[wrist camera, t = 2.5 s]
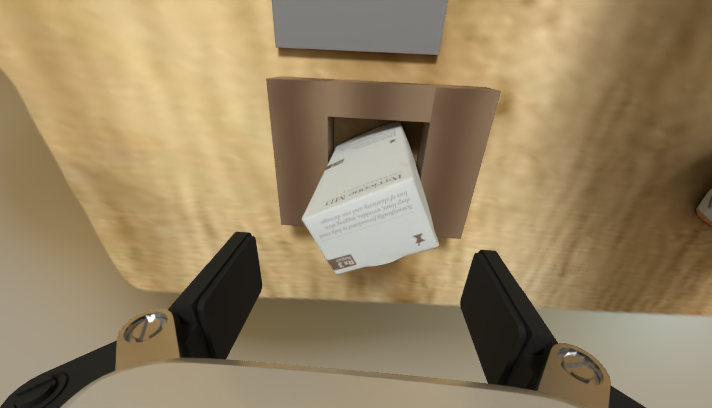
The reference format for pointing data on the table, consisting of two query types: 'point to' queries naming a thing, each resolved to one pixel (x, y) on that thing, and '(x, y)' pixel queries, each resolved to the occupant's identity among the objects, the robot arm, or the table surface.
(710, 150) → the table surface
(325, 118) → the walnut socket block
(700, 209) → the lucky cat figurine
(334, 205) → the skincare box
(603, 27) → the table surface
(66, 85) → the table surface
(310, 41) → the grey rubber mat
